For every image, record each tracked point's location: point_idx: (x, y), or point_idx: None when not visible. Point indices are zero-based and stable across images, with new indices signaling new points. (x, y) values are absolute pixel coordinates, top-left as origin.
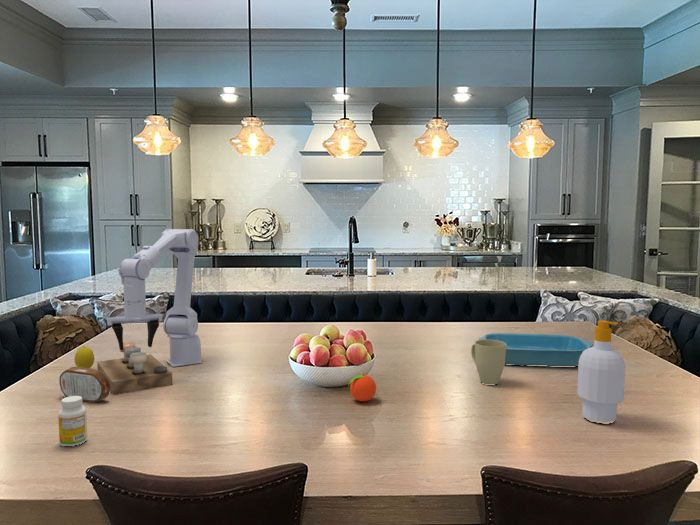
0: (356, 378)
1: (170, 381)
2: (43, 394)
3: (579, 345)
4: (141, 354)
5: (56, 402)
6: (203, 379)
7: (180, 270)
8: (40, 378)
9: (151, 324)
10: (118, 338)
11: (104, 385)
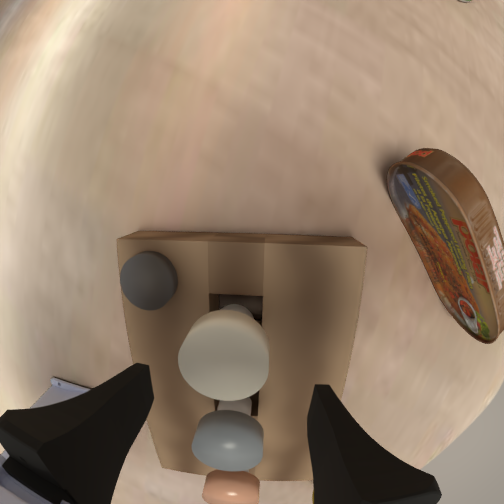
0: None
1: (138, 233)
2: (475, 348)
3: None
4: (206, 352)
5: None
6: (54, 229)
7: None
8: (422, 454)
9: (35, 444)
10: (367, 434)
11: (423, 150)
